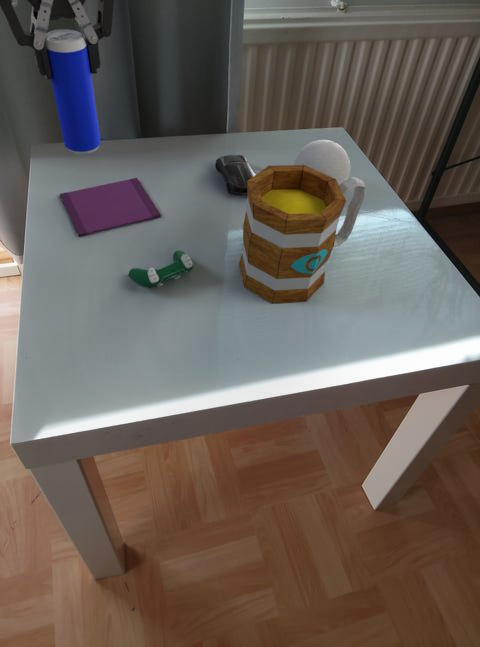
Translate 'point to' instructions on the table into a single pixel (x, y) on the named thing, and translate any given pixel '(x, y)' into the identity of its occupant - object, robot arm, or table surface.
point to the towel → (109, 206)
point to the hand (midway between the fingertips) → (70, 73)
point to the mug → (293, 230)
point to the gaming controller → (162, 271)
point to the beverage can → (73, 90)
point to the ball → (325, 159)
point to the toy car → (235, 172)
